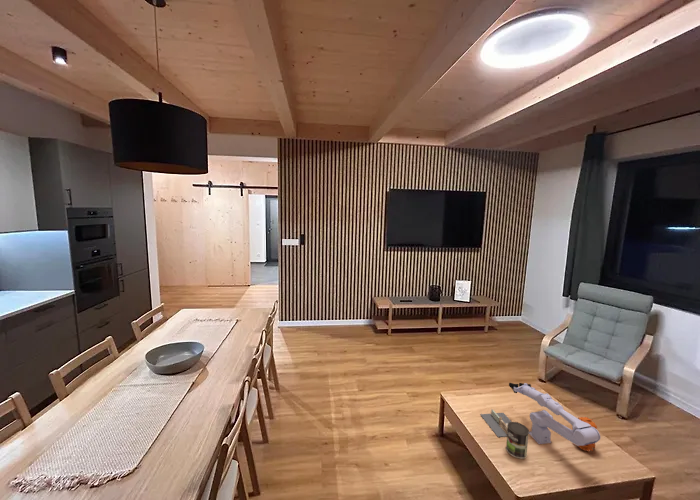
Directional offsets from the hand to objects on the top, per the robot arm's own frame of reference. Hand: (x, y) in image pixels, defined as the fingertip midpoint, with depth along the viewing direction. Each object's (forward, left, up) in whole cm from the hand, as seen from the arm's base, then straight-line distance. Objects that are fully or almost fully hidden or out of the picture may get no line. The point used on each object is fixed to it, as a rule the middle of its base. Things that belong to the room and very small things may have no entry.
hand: (514, 384), depth 196 cm
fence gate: (-4, +14, -20) cm, 25 cm away
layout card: (-8, +13, -21) cm, 26 cm away
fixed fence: (-13, +14, -21) cm, 28 cm away
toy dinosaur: (-30, -23, -21) cm, 43 cm away
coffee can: (-29, +17, -21) cm, 40 cm away
